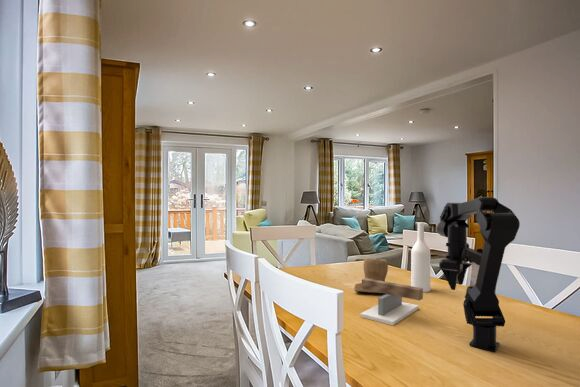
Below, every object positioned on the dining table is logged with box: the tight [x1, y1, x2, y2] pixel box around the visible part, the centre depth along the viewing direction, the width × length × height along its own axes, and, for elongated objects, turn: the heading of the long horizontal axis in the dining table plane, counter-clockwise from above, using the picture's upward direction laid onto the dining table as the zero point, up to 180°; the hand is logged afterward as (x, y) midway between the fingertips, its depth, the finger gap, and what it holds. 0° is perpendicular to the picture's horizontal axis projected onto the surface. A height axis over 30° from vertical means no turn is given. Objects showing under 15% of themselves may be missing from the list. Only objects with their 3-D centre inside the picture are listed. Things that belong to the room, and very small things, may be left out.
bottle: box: [410, 221, 431, 293], centre depth 156 cm, size 8×8×30 cm
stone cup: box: [353, 257, 389, 294], centre depth 153 cm, size 15×12×15 cm
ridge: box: [359, 293, 419, 326], centre depth 126 cm, size 22×12×7 cm, turn 139°
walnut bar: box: [361, 277, 424, 301], centre depth 126 cm, size 22×3×4 cm, turn 49°
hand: (457, 286), depth 116 cm, fingers open, 9 cm apart
